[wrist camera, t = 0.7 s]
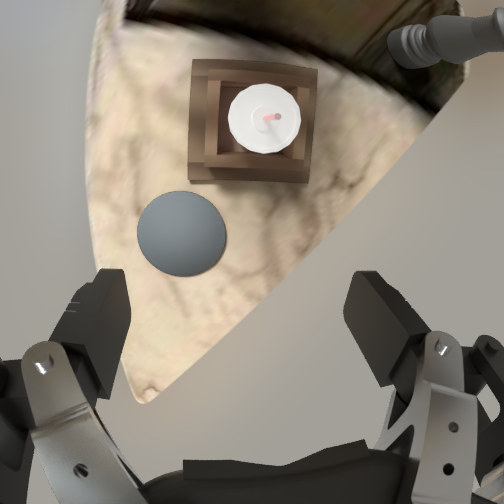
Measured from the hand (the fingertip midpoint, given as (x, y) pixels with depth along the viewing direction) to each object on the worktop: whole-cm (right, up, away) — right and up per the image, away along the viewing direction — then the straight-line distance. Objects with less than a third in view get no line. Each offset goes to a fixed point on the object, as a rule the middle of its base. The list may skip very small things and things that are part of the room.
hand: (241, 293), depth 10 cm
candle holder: (+21, +29, +17) cm, 40 cm away
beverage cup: (0, +16, +20) cm, 26 cm away
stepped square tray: (0, +16, +20) cm, 26 cm away
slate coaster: (-8, +4, +25) cm, 27 cm away
